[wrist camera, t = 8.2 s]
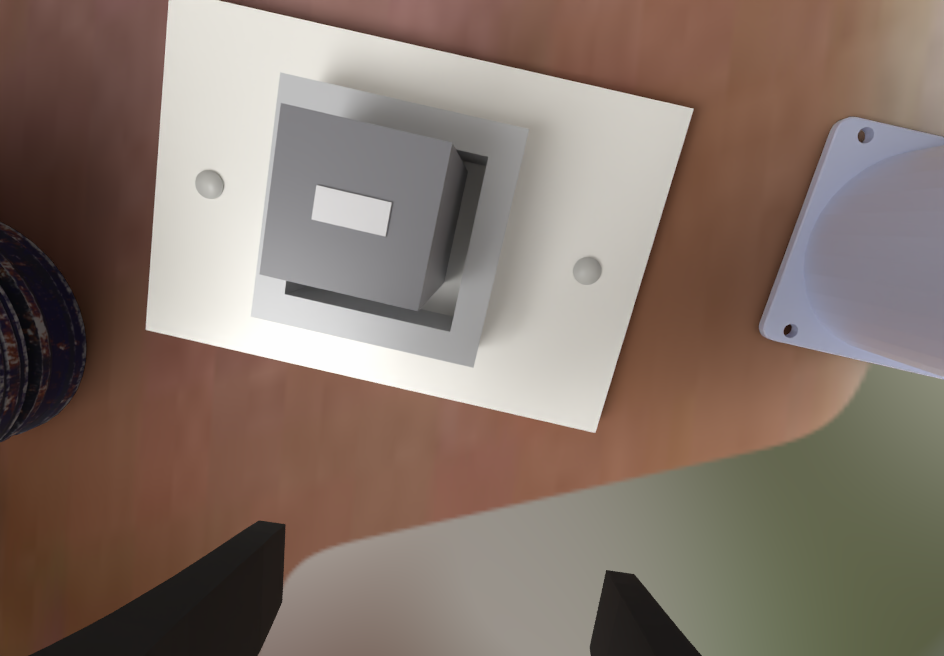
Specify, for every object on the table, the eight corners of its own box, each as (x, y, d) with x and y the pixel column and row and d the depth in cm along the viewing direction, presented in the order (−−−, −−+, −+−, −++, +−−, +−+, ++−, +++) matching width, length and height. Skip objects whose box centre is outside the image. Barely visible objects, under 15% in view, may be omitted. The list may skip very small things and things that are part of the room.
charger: (467, 171, 17) (452, 141, 11) (444, 282, 17) (417, 312, 12) (356, 145, 17) (279, 102, 11) (338, 257, 17) (257, 274, 12)
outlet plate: (682, 115, 17) (729, 87, 13) (590, 422, 19) (610, 464, 16) (188, 2, 17) (109, -54, 13) (163, 324, 19) (92, 345, 16)
